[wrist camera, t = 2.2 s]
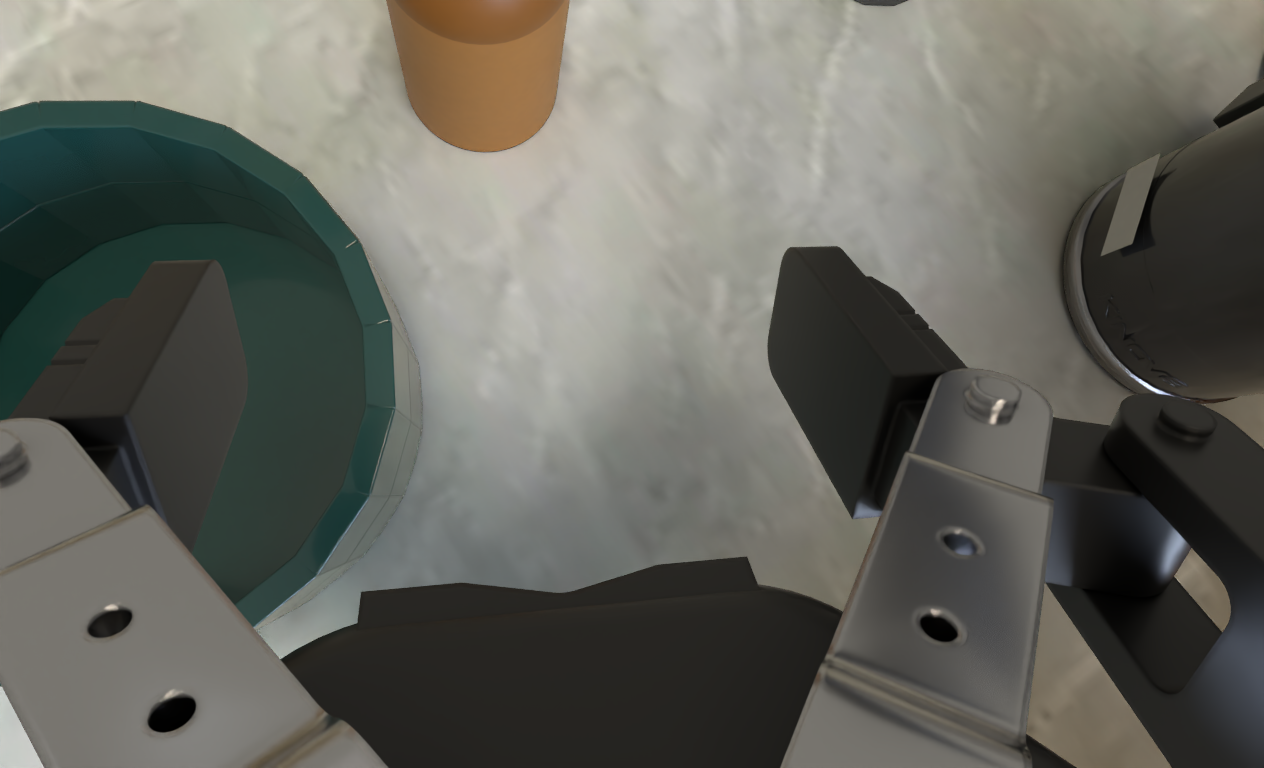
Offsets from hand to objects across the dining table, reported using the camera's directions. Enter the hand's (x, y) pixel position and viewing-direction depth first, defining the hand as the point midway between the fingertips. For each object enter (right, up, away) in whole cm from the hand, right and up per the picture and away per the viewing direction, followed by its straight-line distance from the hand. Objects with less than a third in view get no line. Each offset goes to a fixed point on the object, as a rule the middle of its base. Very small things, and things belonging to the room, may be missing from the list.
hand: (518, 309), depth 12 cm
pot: (-12, -2, +14) cm, 18 cm away
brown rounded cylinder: (-4, +10, +17) cm, 19 cm away
